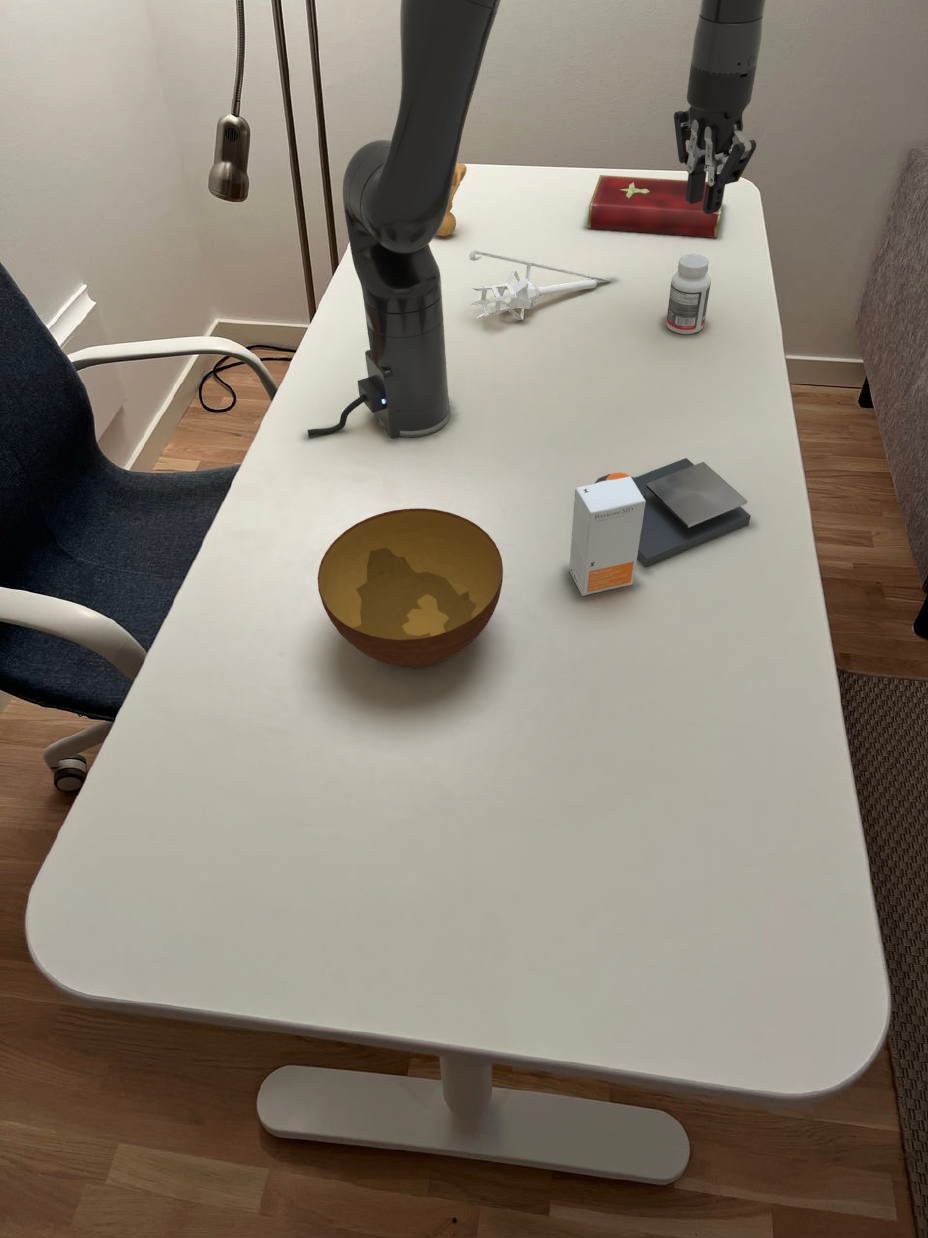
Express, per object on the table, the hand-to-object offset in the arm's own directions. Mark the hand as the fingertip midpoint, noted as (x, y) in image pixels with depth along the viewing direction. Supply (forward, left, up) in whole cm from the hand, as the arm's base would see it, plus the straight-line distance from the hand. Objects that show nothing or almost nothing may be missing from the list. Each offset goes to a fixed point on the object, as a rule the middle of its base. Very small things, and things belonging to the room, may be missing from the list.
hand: (702, 206), depth 121 cm
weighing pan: (-24, -34, -14) cm, 43 cm away
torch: (-15, +15, -17) cm, 27 cm away
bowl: (-59, -35, -17) cm, 71 cm away
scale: (-26, -32, -17) cm, 45 cm away
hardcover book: (+16, +30, -17) cm, 38 cm away
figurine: (-16, +43, -17) cm, 49 cm away
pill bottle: (0, 0, -17) cm, 17 cm away
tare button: (-30, -29, -15) cm, 44 cm away
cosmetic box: (-38, -37, -17) cm, 56 cm away
